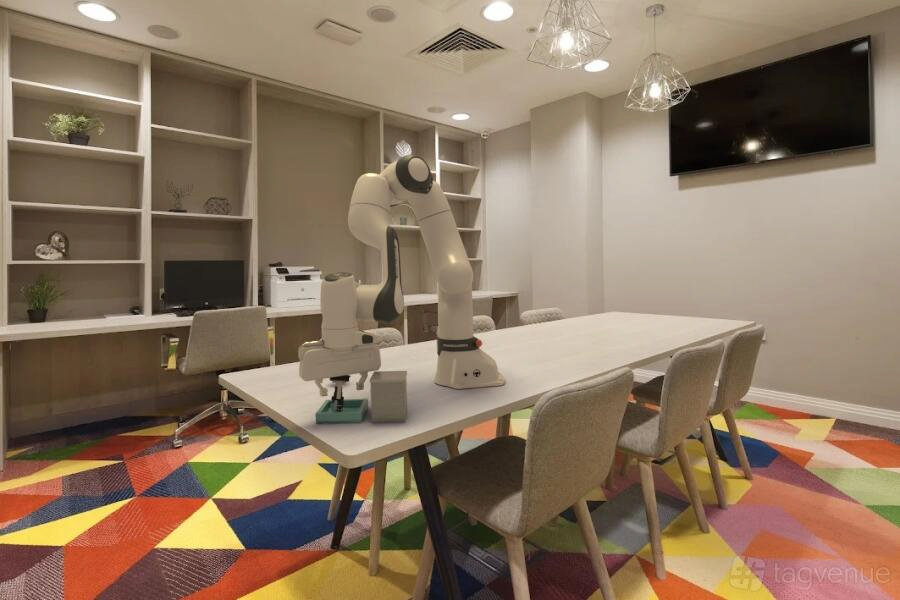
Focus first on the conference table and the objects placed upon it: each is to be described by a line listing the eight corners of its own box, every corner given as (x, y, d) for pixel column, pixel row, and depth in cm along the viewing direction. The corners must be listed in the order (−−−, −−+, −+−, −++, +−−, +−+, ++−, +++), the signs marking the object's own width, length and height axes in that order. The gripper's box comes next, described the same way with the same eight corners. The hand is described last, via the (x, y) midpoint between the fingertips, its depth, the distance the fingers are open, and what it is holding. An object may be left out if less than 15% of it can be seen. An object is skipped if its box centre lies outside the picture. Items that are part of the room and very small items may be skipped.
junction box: (408, 410, 121) (407, 370, 120) (406, 422, 113) (404, 379, 112) (374, 411, 121) (373, 371, 120) (369, 423, 112) (368, 380, 111)
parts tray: (368, 407, 124) (367, 398, 124) (361, 422, 113) (361, 412, 113) (326, 409, 124) (326, 399, 123) (315, 423, 113) (315, 413, 112)
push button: (349, 412, 114) (353, 370, 117) (327, 411, 113) (331, 369, 115) (345, 411, 120) (349, 372, 123) (324, 410, 119) (328, 371, 121)
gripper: (301, 344, 108) (304, 403, 110) (382, 335, 119) (384, 388, 120) (294, 341, 114) (296, 396, 115) (372, 332, 124) (374, 383, 126)
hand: (342, 392), depth 118 cm, fingers open, 8 cm apart
